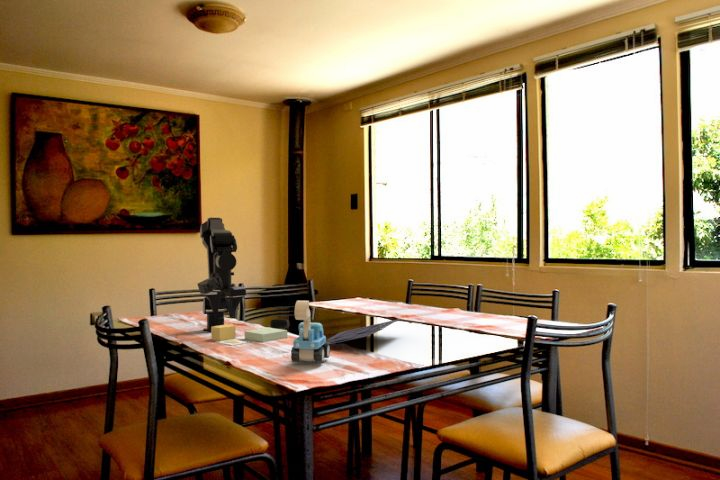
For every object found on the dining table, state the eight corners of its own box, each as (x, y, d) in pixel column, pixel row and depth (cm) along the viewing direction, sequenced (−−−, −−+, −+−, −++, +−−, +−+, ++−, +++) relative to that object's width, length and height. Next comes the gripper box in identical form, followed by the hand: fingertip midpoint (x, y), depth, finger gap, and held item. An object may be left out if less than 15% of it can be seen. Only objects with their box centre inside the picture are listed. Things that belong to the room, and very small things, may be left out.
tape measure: (287, 328, 195) (287, 317, 196) (268, 330, 195) (268, 319, 196) (290, 329, 201) (289, 319, 202) (272, 330, 202) (271, 320, 202)
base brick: (244, 340, 182) (244, 331, 182) (268, 336, 189) (268, 327, 189) (263, 343, 175) (263, 334, 175) (287, 339, 183) (287, 330, 183)
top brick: (211, 340, 181) (211, 326, 181) (226, 337, 185) (226, 324, 185) (219, 341, 178) (219, 328, 178) (235, 339, 182) (235, 325, 182)
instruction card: (217, 342, 175) (217, 341, 175) (233, 340, 180) (233, 339, 180) (231, 345, 170) (231, 344, 170) (247, 342, 174) (247, 341, 174)
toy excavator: (282, 369, 138) (281, 301, 138) (301, 355, 154) (300, 294, 154) (315, 370, 136) (314, 301, 136) (330, 356, 152) (330, 295, 152)
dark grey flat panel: (303, 359, 167) (301, 347, 167) (341, 339, 195) (339, 329, 195) (375, 343, 159) (372, 331, 159) (404, 326, 187) (402, 315, 187)
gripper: (185, 269, 182) (186, 316, 182) (217, 271, 169) (218, 321, 169) (214, 268, 190) (215, 313, 190) (247, 269, 178) (247, 317, 178)
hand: (223, 316), depth 182 cm, fingers open, 9 cm apart
